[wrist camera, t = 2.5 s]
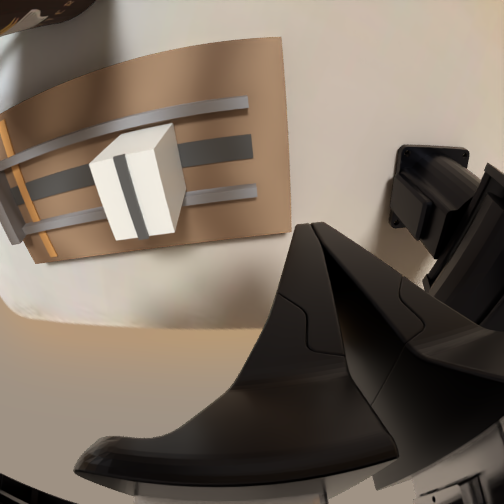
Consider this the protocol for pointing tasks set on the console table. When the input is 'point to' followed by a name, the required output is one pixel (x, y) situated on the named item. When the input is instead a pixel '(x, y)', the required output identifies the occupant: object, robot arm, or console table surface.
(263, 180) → the fader board
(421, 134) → the console table surface
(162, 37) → the console table surface
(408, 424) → the robot arm
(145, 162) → the fader tab
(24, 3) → the coffee mug
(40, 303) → the console table surface
